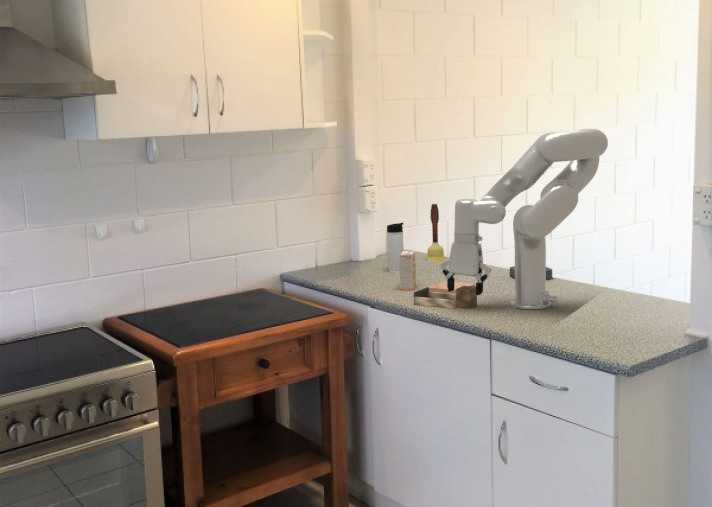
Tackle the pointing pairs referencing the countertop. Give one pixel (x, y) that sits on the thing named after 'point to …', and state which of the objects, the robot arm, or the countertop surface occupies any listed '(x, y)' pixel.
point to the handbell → (435, 238)
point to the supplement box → (407, 270)
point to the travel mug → (394, 245)
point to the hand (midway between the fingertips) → (464, 292)
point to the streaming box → (548, 273)
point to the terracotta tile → (443, 287)
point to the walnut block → (466, 297)
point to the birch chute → (434, 299)
